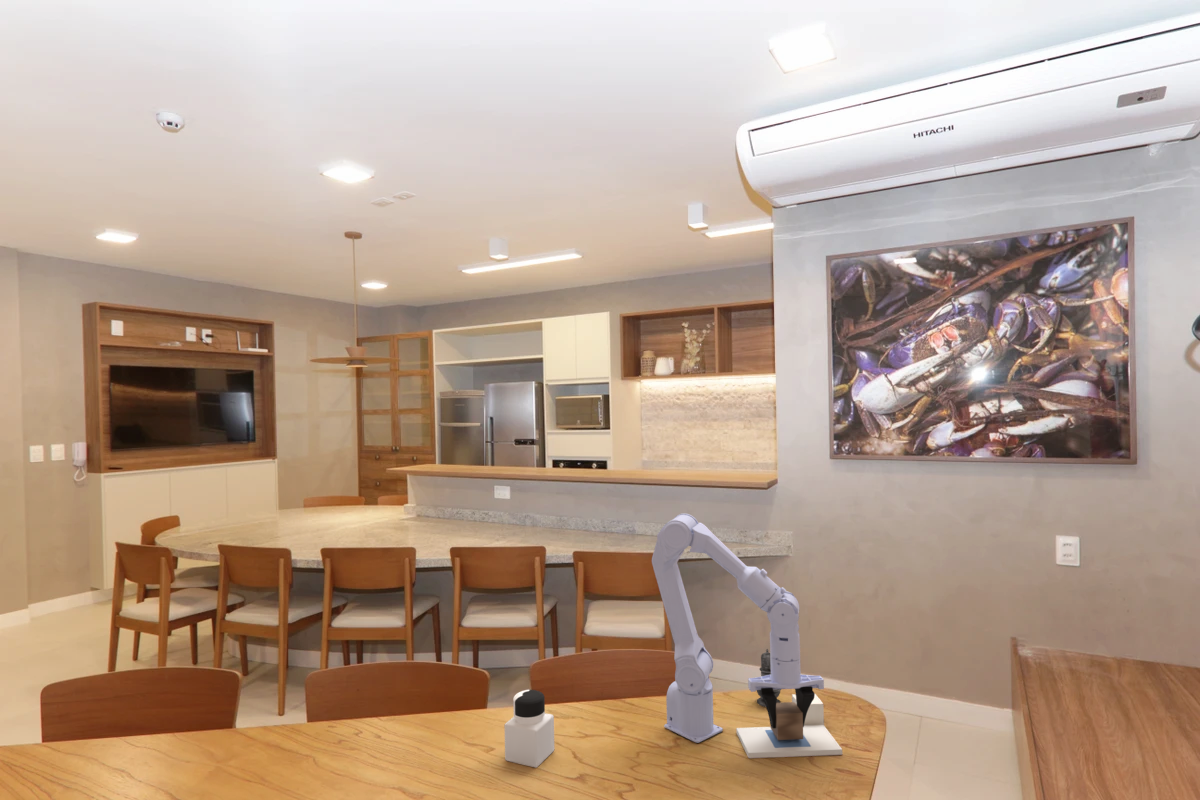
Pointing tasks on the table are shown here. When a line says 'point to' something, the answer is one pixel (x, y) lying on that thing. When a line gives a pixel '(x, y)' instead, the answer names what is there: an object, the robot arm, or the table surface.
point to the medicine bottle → (529, 730)
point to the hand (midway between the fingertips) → (787, 725)
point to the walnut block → (788, 721)
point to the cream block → (813, 711)
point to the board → (788, 743)
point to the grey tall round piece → (765, 671)
